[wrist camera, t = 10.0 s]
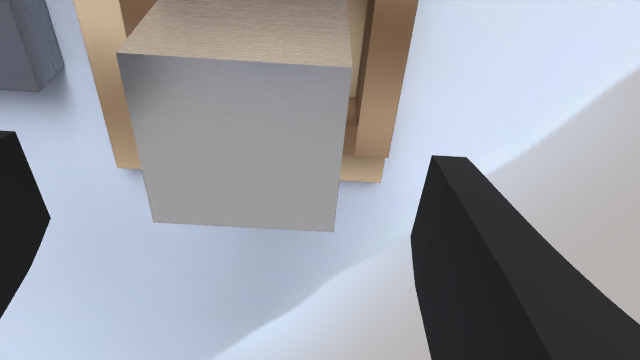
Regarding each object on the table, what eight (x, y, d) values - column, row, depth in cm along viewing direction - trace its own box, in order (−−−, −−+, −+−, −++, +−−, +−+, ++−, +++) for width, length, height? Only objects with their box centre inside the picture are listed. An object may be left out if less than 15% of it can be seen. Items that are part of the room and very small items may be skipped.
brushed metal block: (331, 69, 17) (333, 231, 11) (217, 62, 17) (153, 222, 11) (341, -54, 14) (352, 67, 8) (207, -63, 14) (115, 52, 8)
